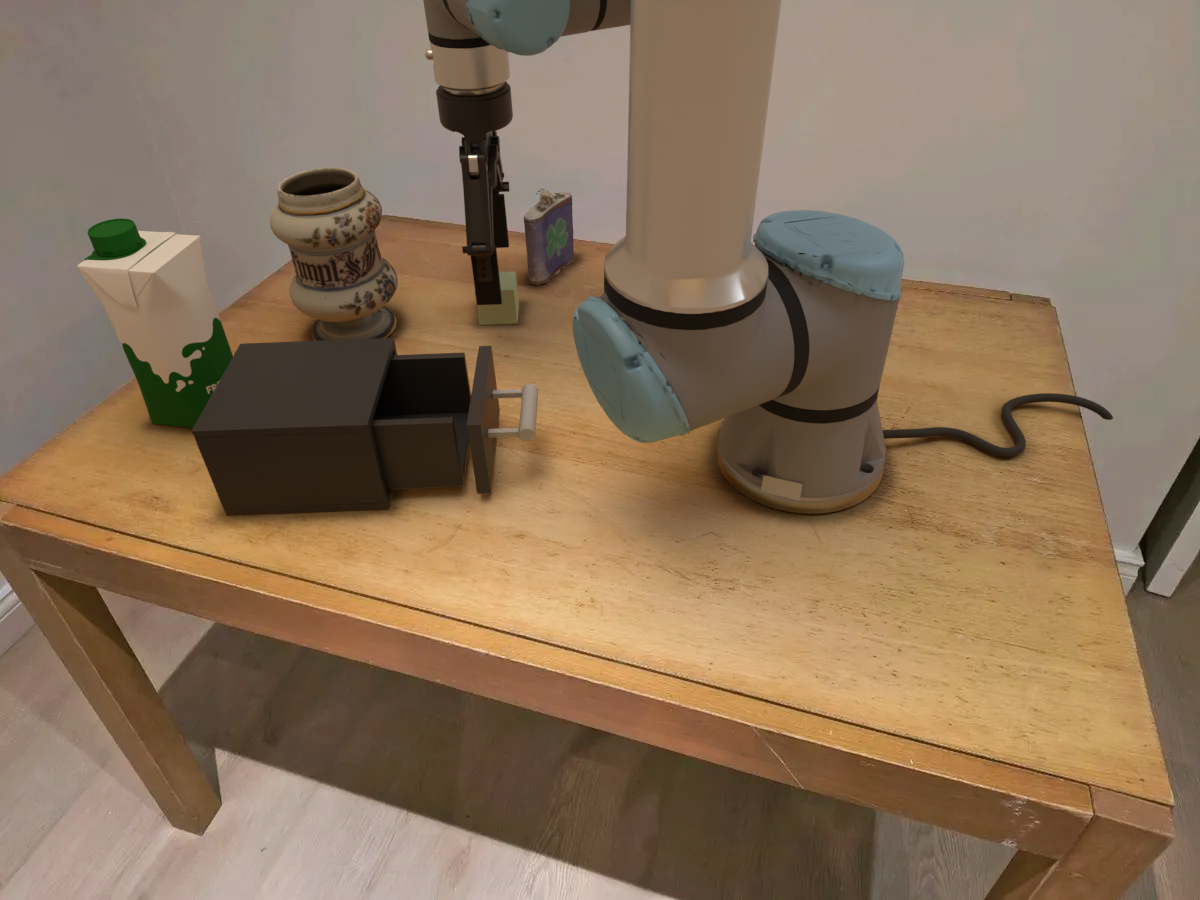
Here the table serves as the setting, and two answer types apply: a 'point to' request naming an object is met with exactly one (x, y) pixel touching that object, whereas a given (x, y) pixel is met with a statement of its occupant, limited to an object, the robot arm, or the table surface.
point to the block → (509, 306)
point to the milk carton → (160, 315)
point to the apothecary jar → (335, 254)
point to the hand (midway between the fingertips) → (493, 273)
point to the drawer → (443, 420)
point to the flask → (549, 236)
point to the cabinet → (297, 427)
